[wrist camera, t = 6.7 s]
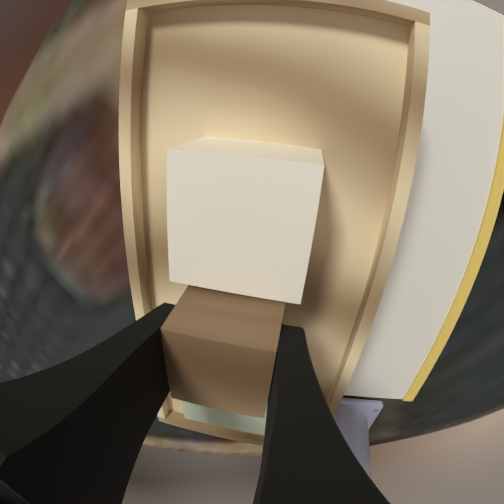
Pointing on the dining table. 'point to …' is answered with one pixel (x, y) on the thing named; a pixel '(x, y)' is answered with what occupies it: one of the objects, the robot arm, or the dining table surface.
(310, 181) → the off-white square block
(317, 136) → the tan open box
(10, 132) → the dining table surface
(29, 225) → the dining table surface
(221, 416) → the pale green block
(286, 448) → the robot arm
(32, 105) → the dining table surface
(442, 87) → the dock
